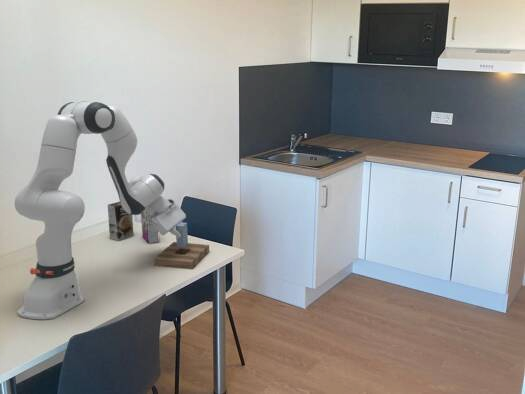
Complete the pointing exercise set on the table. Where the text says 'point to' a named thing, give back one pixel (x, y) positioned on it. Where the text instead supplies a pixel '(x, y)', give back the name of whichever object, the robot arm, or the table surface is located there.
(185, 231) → the grey post
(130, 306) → the table surface
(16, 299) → the table surface
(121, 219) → the coffee box
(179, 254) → the walnut block
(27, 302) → the robot arm
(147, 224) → the candy bar box
